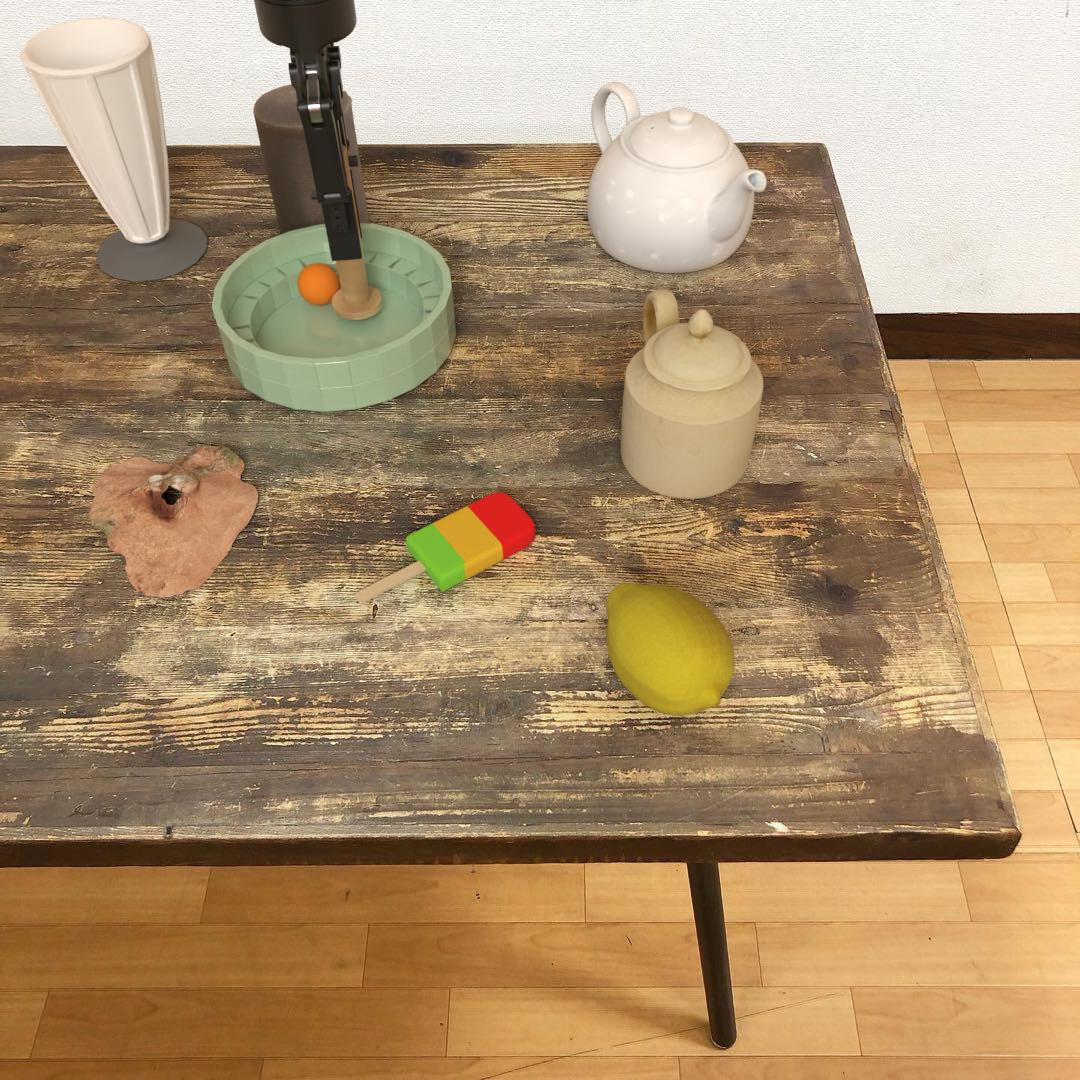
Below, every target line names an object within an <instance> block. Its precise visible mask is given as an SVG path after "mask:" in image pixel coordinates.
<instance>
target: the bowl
mask: <svg viewBox="0 0 1080 1080" xmlns="http://www.w3.org/2000/svg"><path fill="white" fill-rule="evenodd" d="M360 226H361V232H362V239H361V242H362V248H363V255H364V261H365V267H366V273H367V280H368V285H370V286H373V287H375V288H377V289H378V290H379V291H380V293H381V295H382V301H383V305H382V308H381V309H380V311H379V312H378V313H377V314H375V315H374V316H372V317H369V318H366V319H362V320H347V319H344V318H341V317H339V316H338V315H336V313H335V312H334V310H333V306H332V301H331V302H330V303H328V304H326V305H313V304H310V303H309V302H307V301H306V300H304V299H303V297H302V296H301V295H300V293H299V290H298V286H297V281H298V276H299V274H300V272H301V271H302V270H303V269H304V268H305V267H306V266H308V265H310V264H314V263H321V264H325V265H327V266H329V267H330V268H332V269H333V270H334V272H335V273H336V274H337V276H338V279H339V275H338V270H337V264H336V261H332V259H331V253H330V248H329V243H328V237H327V232H326V227H325V224H320V225H315V226H310V227H306V228H301V229H297V230H292V231H289V232H286V233H284V234H281V235H280V234H279V235H275V236H274V237H271V238H268V239H266V240H263V241H262V242H260V243H258V244H257V245H255V246H254V247H252V248H250V249H249V250H247V251H245V252H243V253H242V254H241V255H240V256H239V257H238V258H237V259H235V260H234V261H233V262H232V263H231V264H230V265H229V266H228V267H227V268H226V269H225V270H224V271H223V272H222V275H221V276H220V277H219V280H218V281H217V282H216V285H215V286H214V290H213V295H212V296H213V297H212V304H211V311H212V313H213V316H214V320H215V323H216V327H217V330H218V334H219V336H220V340H221V343H222V347H223V350H224V353H225V357H226V360H227V363H228V366H229V369H230V373H232V374H233V376H234V377H235V379H236V380H238V382H239V383H240V384H241V386H243V387H244V388H245V390H248V391H249V392H250V393H252V394H254V395H255V396H257V397H259V398H261V399H262V400H264V401H266V402H268V403H272V404H276V405H279V406H283V407H286V408H288V409H293V410H301V411H310V412H323V413H328V412H338V411H339V412H340V411H349V410H351V411H352V410H359V409H362V408H366V407H370V406H374V405H378V404H381V403H385V402H388V401H391V400H393V399H395V398H397V397H399V396H401V395H404V394H405V393H407V392H410V391H412V390H414V389H416V388H417V387H418V386H420V385H421V384H423V383H424V382H425V381H426V380H428V379H429V378H430V377H432V376H433V375H434V374H436V372H437V371H438V370H439V369H440V368H441V366H442V365H443V364H444V362H445V361H446V360H447V358H448V357H449V356H450V354H451V352H452V349H453V346H454V342H455V340H456V337H457V330H456V318H455V306H454V296H453V295H454V294H453V285H452V275H451V269H450V267H449V265H448V264H447V262H446V260H445V258H444V257H443V255H442V253H440V251H438V250H437V249H435V248H434V246H432V245H431V244H430V243H428V242H427V241H426V240H424V239H423V238H421V237H419V236H416V235H415V234H412V233H410V232H407V231H405V230H402V229H399V228H396V227H390V226H386V225H382V224H379V223H378V224H377V223H369V224H368V223H360ZM340 289H341V286H340V280H339V290H340Z"/></svg>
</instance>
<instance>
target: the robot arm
mask: <svg viewBox="0 0 1080 1080" xmlns="http://www.w3.org/2000/svg"><path fill="white" fill-rule="evenodd" d="M253 3H254V8H255V13H256V18H257V22H258V27H259V30H260V34H261V35H262V36H263V37H264V39H266V41H268V42H270V43H271V44H273V45H276V46H279V47H285V48H287V49H289V57H290V62H288V65H287V66H288V73H289V80H290V85H291V84H292V86H293V87H294V88H295V90H296V96H297V111H299V114H300V118H301V122H302V125H303V129H304V134H305V139H306V144H307V148H308V153H309V158H310V163H311V168H312V173H313V178H314V182H315V187H316V190H312V192H311V199H312V201H313V200H318V203H319V204H321V205H322V211H323V216H324V221H325V227H326V232H327V237H328V243H329V248H330V253H331V259H332V261H339V260H353V259H362V252H361V246H360V240H359V233H358V227H357V221H356V215H355V209H354V202H353V196H352V190H350V187H349V186H348V180H347V174H346V167H345V160H344V154H343V147H342V145H344V146H345V147H346V149H347V155H348V161H349V167H358V157H357V155H353V156H349V154H348V150H349V146H350V142H349V140H348V137H347V131H346V124H345V117H344V110H343V104H342V98H343V91H344V85H343V79H342V71H341V70H342V55H341V48H340V45H335V44H336V43H338V42H340V41H342V40H345V39H346V38H347V37H349V36H350V35H351V34H352V33H353V32H354V30H355V29H356V26H357V21H358V18H357V10H356V5H355V0H253ZM350 174H351V180H352V186H353V192H354V199H355V205H356V211H357V217H358V224H359V230H360V236H361V239H362V232H361V226H360V219H359V213H358V207H357V200H356V194H355V188H354V182H353V175H352V170H350Z"/></svg>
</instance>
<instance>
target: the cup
mask: <svg viewBox="0 0 1080 1080" xmlns="http://www.w3.org/2000/svg"><path fill="white" fill-rule="evenodd" d="M19 58H20V60H21V62H22V64H23V66H24V68H25V71H26V72H27V74H28V77H29V78H30V81H31V82H32V85H33V87H34V89H35V91H36V92H37V94H38V97H39V98H40V100H41V102H42V104H43V106H44V108H45V110H46V112H47V114H48V116H49V118H50V121H51V122H52V124H53V126H54V127H55V129H56V131H57V133H58V135H59V136H60V138H61V140H62V142H63V144H64V145H65V147H66V149H67V150H68V152H69V154H70V155H71V157H72V160H73V161H74V162H75V164H76V166H77V168H78V169H79V171H80V173H81V175H82V176H83V178H84V180H85V181H86V182H87V184H88V186H89V188H90V189H91V190H92V192H93V193H94V195H95V197H96V198H97V200H98V202H99V203H100V205H101V206H102V208H103V209H104V211H105V212H106V213H107V214H108V216H109V217H110V219H111V220H112V221H113V222H114V224H115V225H116V226H117V228H118V229H119V230H118V231H116V232H114V233H112V234H111V235H109V237H108V238H107V239H106V240H104V242H102V244H101V245H99V248H98V252H97V255H96V261H97V262H96V263H98V266H99V268H100V269H101V271H102V272H104V273H105V274H107V275H110V277H113V278H114V279H116V280H121V281H128V282H133V283H134V282H135V283H139V282H153V281H159V280H162V279H165V278H169V277H172V276H176V275H179V274H181V273H183V272H184V271H186V270H188V269H189V268H191V267H192V266H195V265H196V264H197V263H198V262H199V261H200V260H201V259H202V257H203V256H204V255H205V254H206V252H207V248H208V241H209V238H208V236H207V234H206V233H205V232H204V230H203V229H202V228H201V227H199V226H198V225H196V224H194V223H192V222H190V221H188V220H182V219H175V218H170V215H171V212H170V211H171V186H170V185H171V184H170V172H169V171H170V167H169V155H168V146H167V138H166V137H167V136H166V128H165V119H164V110H163V104H162V103H163V102H162V98H161V92H160V91H161V90H160V85H159V79H158V74H157V66H156V62H155V56H154V51H153V46H152V40H151V36H150V35H149V33H148V32H147V31H146V29H145V28H144V27H143V26H142V25H140V24H137V23H135V22H133V21H131V20H128V19H125V18H114V17H105V16H102V17H90V18H89V17H88V18H87V17H86V18H80V19H75V20H70V21H66V22H61V23H58V24H55V25H53V26H50V27H48V28H46V29H43V30H41V31H38V32H37V33H35V35H33V36H31V38H29V39H28V40H26V41H25V43H24V45H23V48H22V49H21V51H20V53H19Z"/></svg>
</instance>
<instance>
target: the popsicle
mask: <svg viewBox="0 0 1080 1080" xmlns="http://www.w3.org/2000/svg"><path fill="white" fill-rule="evenodd" d="M536 533H537V532H536V524H535V521H534V520H533V519H532V518H531V516H530V515H529V514H528V512H526V511H525V510H524V509H523V507H522V506H520V504H518V502H517V501H515V499H514V498H513V497H512V496H510V495H509V494H507V493H506V492H501V491H497V492H493V493H490V494H488V495H486V496H483V497H482V498H480V499H478V500H476V501H473V502H472V503H470V504H468V505H466V506H464V507H462V508H459V509H458V510H456V511H454V512H452V513H450V514H448V515H446V516H444V517H442V518H440V519H438V520H436V521H434V522H432V523H430V524H428V525H426V526H424V527H422V528H420V529H418V530H416V531H414V532H412V533H410V534H408V535H407V536H406V538H405V545H406V550H407V551H408V552H409V554H410V555H411V556H412V558H413V559H414V560H415V562H413V563H412V564H409V565H408V566H406V567H404V568H402V569H399V570H397V571H396V572H394V573H392V574H389V575H388V576H386V577H384V578H382V579H380V580H378V581H376V582H374V583H373V584H371V585H369V586H367V587H365V588H363V589H361V590H359V591H357V592H356V593H355V596H354V597H355V599H356V601H357V602H358V603H359V604H364V603H366V602H368V601H370V600H372V599H374V598H375V597H378V596H381V594H383V593H385V592H387V591H389V590H391V589H393V588H395V587H397V586H399V585H401V584H403V583H404V582H407V581H408V580H410V579H412V578H414V577H416V576H418V575H420V574H422V573H424V572H425V574H426V575H427V576H428V577H429V578H430V580H432V582H433V584H435V585H436V587H437V588H438V589H439V590H440V591H441V593H444V592H446V591H447V590H449V589H451V588H452V587H455V586H457V585H459V584H461V583H463V582H464V581H466V580H468V579H470V578H472V577H474V576H476V575H478V574H479V573H481V572H483V571H485V570H487V569H489V568H491V567H493V566H494V565H496V564H498V563H500V562H502V561H504V560H506V559H507V558H510V557H511V556H513V555H515V554H517V553H519V552H521V551H523V550H524V549H527V548H528V547H529V546H531V545H532V543H533V542H534V541H535V538H536Z"/></svg>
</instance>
